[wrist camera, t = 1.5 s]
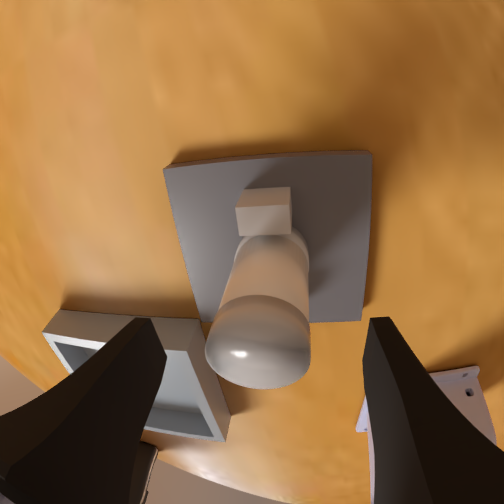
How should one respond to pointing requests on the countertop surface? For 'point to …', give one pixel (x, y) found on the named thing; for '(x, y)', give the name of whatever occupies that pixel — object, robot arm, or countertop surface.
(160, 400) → the parts tray
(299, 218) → the plate
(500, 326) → the countertop surface
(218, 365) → the cylinder
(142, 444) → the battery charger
